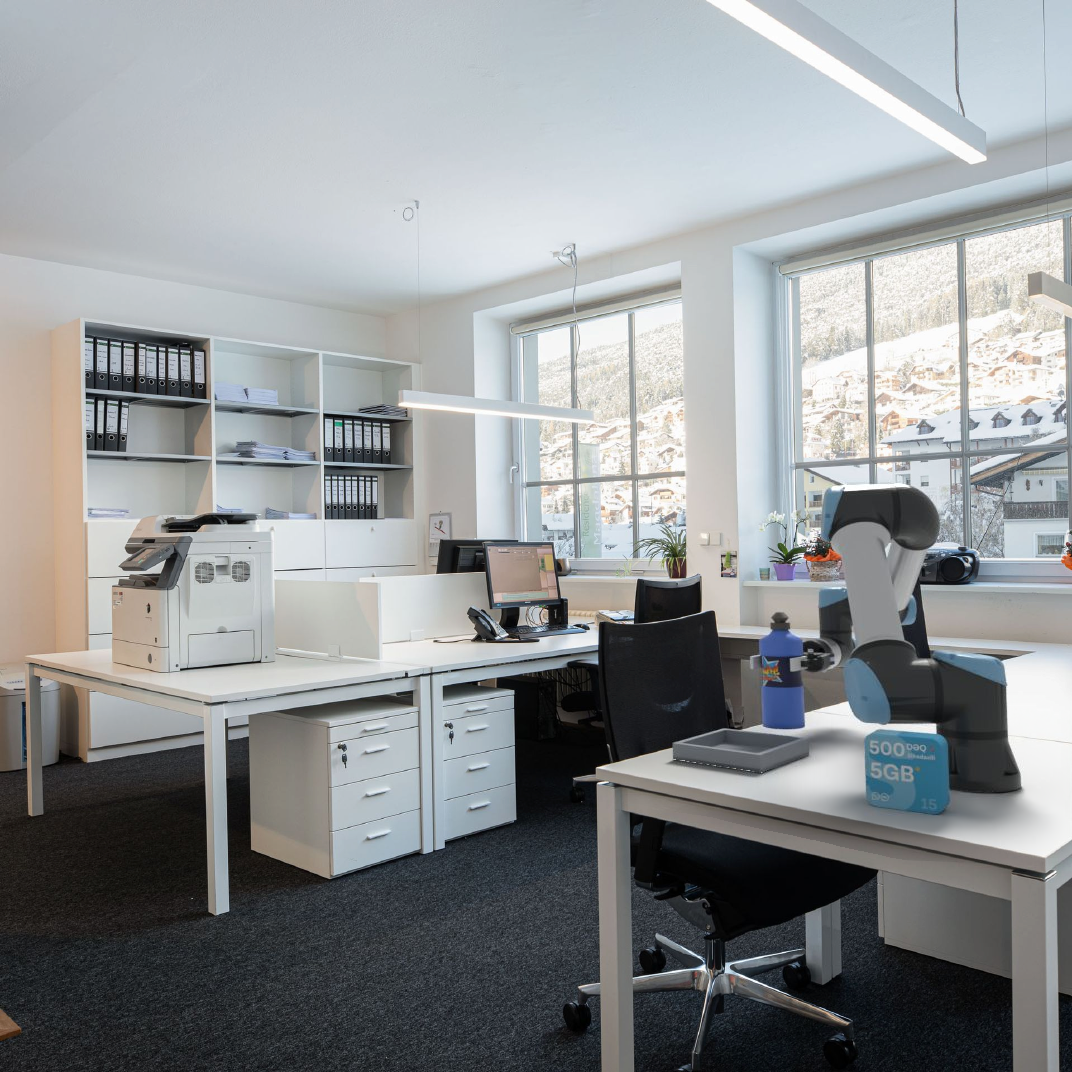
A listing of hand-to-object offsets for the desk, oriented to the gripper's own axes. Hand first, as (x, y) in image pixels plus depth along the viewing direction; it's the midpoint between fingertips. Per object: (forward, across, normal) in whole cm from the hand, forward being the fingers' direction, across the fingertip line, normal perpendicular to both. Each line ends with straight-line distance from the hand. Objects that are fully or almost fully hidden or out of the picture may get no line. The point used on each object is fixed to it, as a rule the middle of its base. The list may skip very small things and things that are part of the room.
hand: (771, 663), depth 201 cm
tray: (+14, 0, -18) cm, 23 cm away
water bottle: (-5, 0, -14) cm, 15 cm away
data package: (+31, -40, -19) cm, 54 cm away
